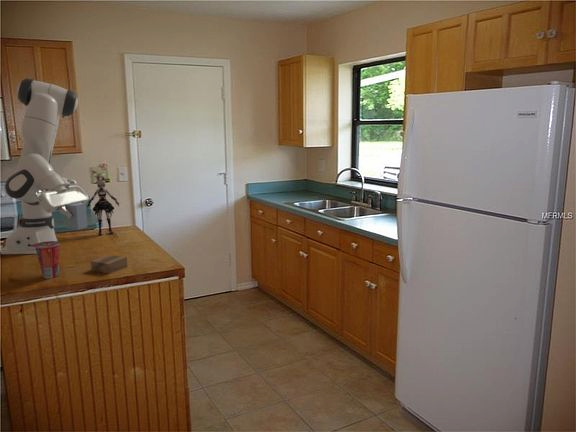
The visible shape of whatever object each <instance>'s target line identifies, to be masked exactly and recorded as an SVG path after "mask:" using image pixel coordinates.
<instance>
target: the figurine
mask: <svg viewBox="0 0 576 432" xmlns="http://www.w3.org/2000/svg"><path fill="white" fill-rule="evenodd" d="M96 180H97V181H96V185H97V188H98V189H96V190H95V192H94V194H93V195H92V196H91V198H90V199H89V200H88V202H87V204H86V210H89V208H92V207H91V204H92V203H93V202H92V201H94V200H95V197H96V196H97V197H98V198H99V200H98V201H97V202H95V203H94V206H93V208H92V211H93V212H94V215H96V217H97V220H96V221H98V237H99V236H102V235H103V233H102V222H103V219H102V217H103V211H104V212H105V215H106V219H105V221H107V224H108V232H109V235H114V232H113V230H112V223H111V218H112V215H113V214H114V211H113V210H114V209H115V206H114V205H113V203H111V202H110V201H109V200H108V199H107V198H106V197H107V196H109V197H110V199H112V200H113V201H114V202H115V204H116V205H117V206H118V207H120V203H119V201H118V199H117V198H116V197H115V196H114V195H112V194H111V193H110V191H108V189H107V188H106V181H107V176H105V175H103V176H101V178H100V175H99V173H96ZM105 180H106V181H105Z"/></svg>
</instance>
